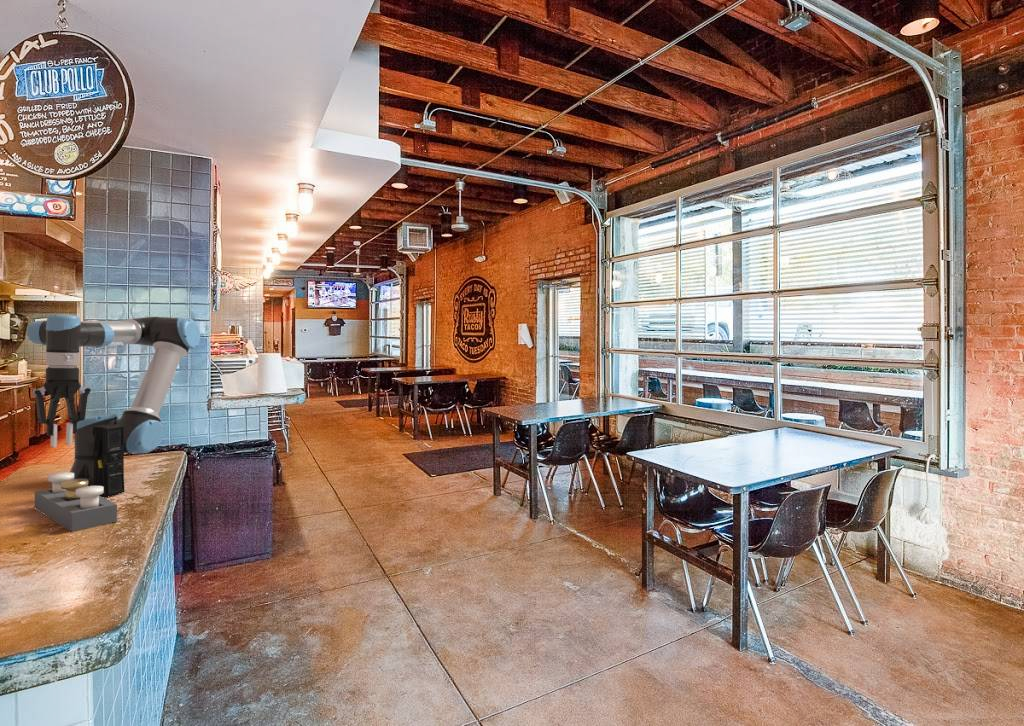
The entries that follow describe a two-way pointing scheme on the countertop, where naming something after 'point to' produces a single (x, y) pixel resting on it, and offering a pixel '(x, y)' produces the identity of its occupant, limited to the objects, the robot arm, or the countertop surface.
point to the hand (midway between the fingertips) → (61, 445)
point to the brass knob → (73, 487)
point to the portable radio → (109, 458)
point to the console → (74, 510)
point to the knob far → (89, 496)
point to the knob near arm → (59, 480)
